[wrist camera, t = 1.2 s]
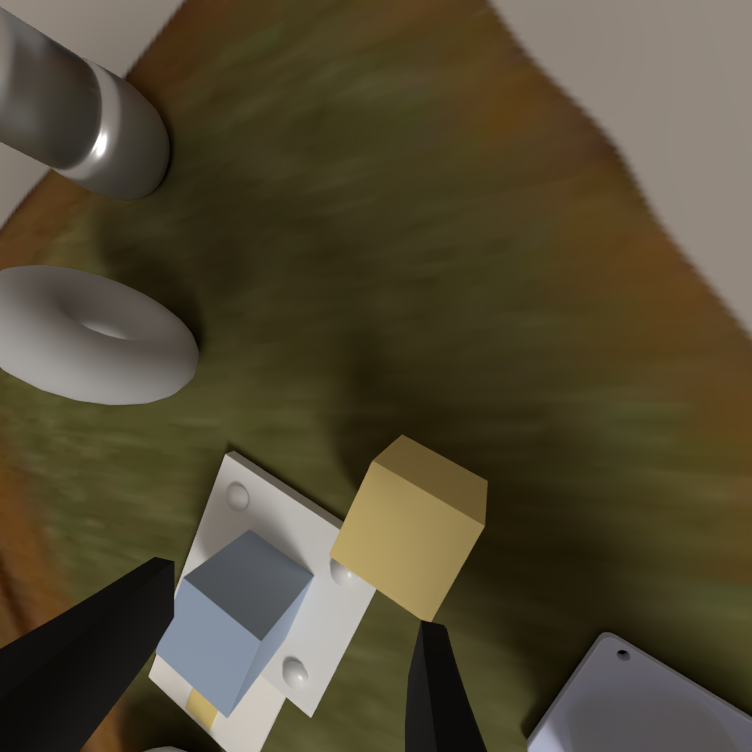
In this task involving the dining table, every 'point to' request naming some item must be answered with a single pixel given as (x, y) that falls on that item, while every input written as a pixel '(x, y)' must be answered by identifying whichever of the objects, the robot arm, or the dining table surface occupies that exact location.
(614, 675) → the robot arm
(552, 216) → the dining table surface
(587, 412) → the dining table surface
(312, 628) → the plate
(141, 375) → the donut
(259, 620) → the slate block
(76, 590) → the dining table surface
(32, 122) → the plastic bottle
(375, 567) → the mustard block
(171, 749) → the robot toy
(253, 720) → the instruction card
